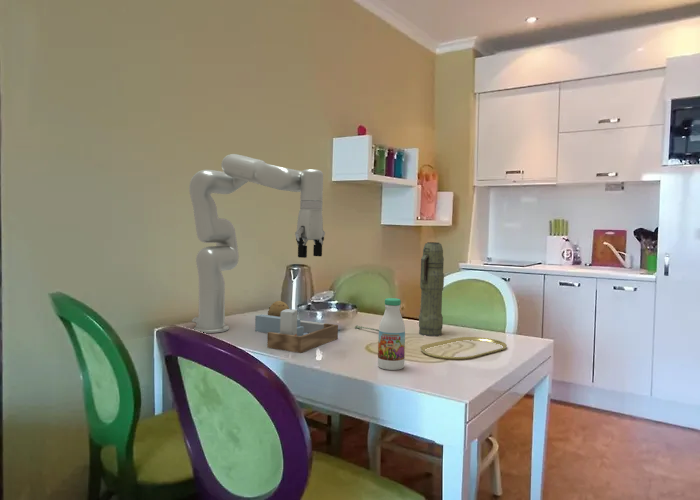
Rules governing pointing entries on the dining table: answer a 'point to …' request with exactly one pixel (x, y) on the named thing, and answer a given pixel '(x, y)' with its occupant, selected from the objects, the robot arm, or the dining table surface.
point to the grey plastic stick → (311, 326)
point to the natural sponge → (277, 308)
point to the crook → (273, 324)
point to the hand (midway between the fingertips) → (310, 256)
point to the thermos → (431, 290)
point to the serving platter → (462, 340)
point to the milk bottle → (391, 337)
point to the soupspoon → (365, 328)
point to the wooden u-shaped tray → (302, 339)
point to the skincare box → (288, 322)
